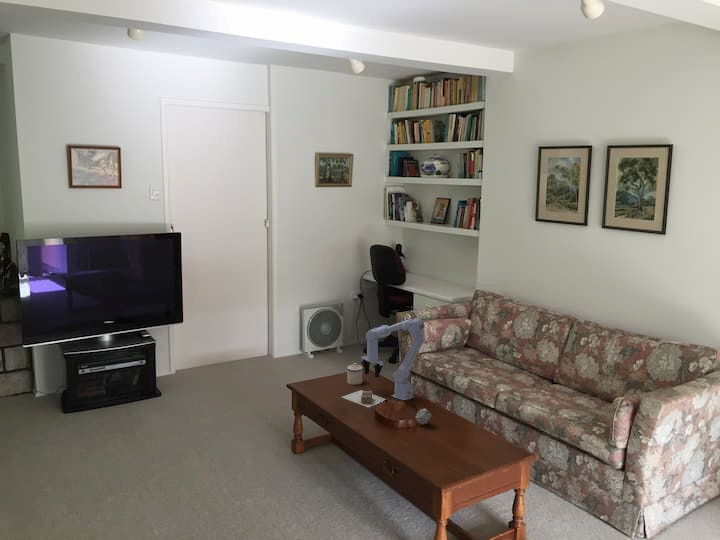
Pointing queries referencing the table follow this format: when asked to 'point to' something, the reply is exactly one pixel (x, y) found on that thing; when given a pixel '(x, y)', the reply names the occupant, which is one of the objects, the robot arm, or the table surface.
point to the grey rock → (423, 416)
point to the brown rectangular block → (366, 397)
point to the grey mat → (357, 398)
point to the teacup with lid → (354, 374)
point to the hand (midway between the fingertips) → (372, 375)
